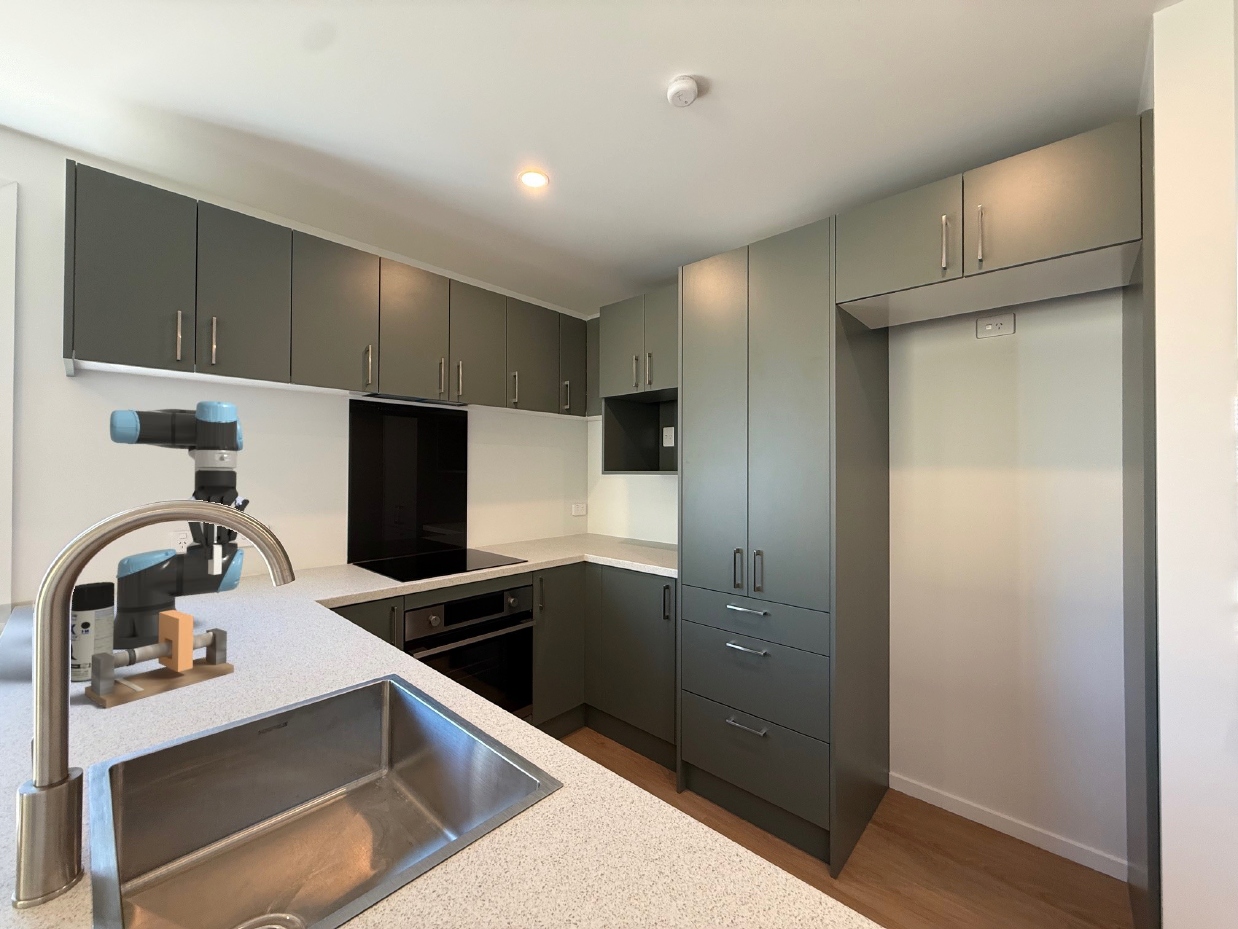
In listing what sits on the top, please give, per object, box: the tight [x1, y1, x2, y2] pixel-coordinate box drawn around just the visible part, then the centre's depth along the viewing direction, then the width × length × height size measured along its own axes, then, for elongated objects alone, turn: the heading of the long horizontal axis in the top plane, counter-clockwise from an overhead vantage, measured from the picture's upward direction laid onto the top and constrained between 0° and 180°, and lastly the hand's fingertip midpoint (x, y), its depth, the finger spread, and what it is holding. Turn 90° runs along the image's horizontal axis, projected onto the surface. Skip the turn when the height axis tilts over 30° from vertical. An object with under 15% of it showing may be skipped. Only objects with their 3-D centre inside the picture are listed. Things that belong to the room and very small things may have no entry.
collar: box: [157, 609, 194, 672], centre depth 112 cm, size 2×10×11 cm, turn 59°
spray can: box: [70, 581, 115, 683], centre depth 114 cm, size 7×7×20 cm
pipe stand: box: [84, 627, 235, 709], centre depth 111 cm, size 21×12×9 cm, turn 149°
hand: (214, 573), depth 118 cm, fingers closed
